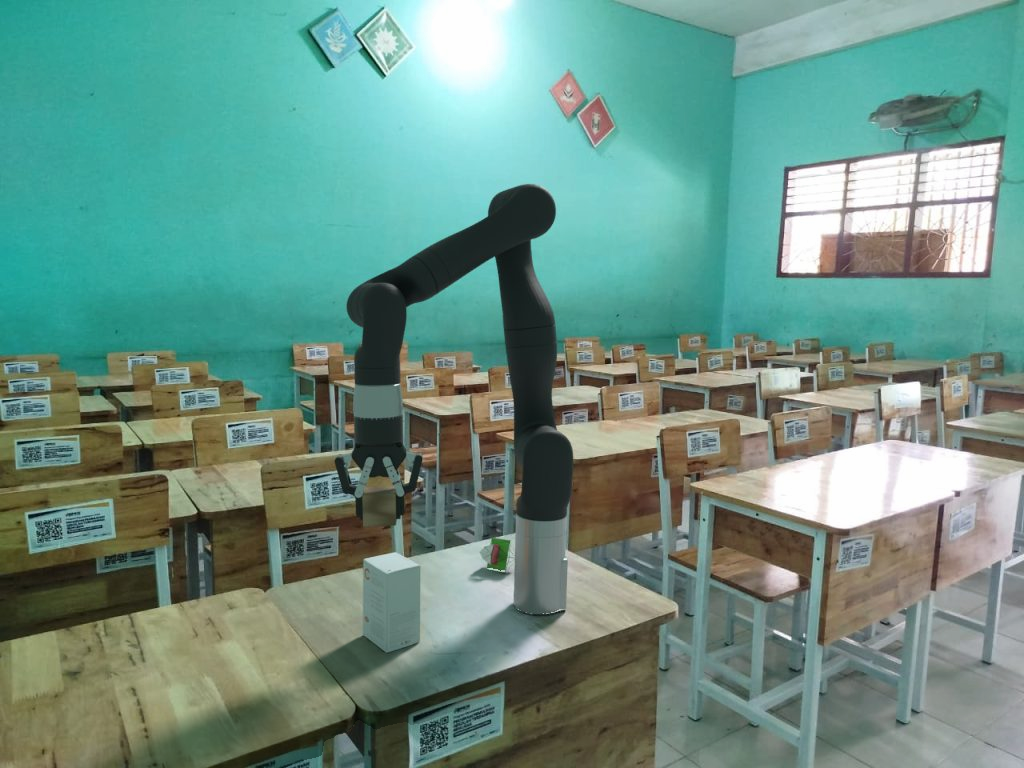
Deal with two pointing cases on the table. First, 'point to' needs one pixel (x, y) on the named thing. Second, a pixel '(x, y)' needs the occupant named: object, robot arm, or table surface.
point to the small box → (391, 601)
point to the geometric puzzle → (496, 554)
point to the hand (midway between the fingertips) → (380, 518)
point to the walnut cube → (379, 506)
